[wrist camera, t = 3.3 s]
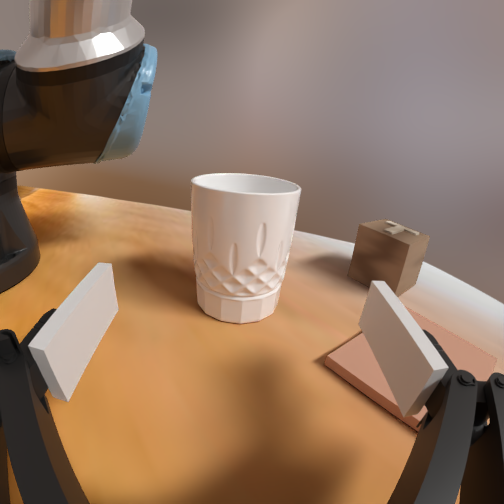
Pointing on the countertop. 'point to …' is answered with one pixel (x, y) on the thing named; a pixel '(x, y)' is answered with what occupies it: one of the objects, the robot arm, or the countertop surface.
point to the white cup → (241, 242)
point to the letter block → (388, 255)
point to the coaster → (374, 382)
